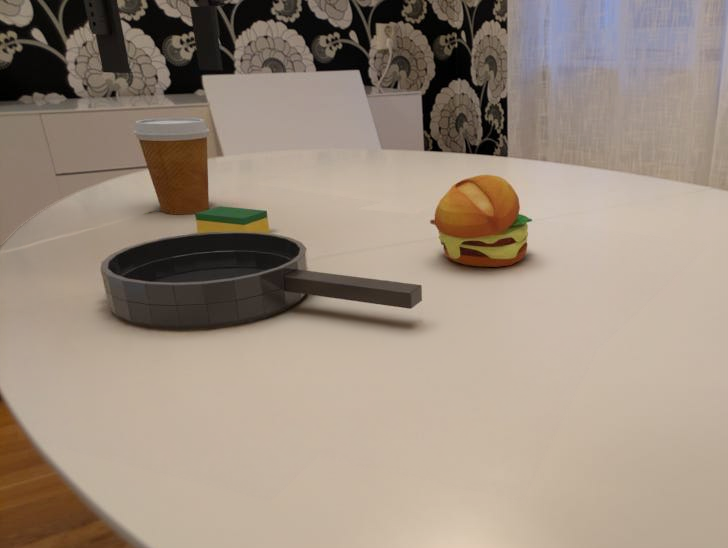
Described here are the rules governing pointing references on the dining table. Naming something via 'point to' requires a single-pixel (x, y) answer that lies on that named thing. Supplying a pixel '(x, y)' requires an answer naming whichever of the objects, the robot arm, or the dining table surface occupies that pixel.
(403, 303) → the pan handle
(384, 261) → the dining table surface
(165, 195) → the disposable coffee cup
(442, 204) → the cheeseburger
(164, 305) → the pan
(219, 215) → the sponge
